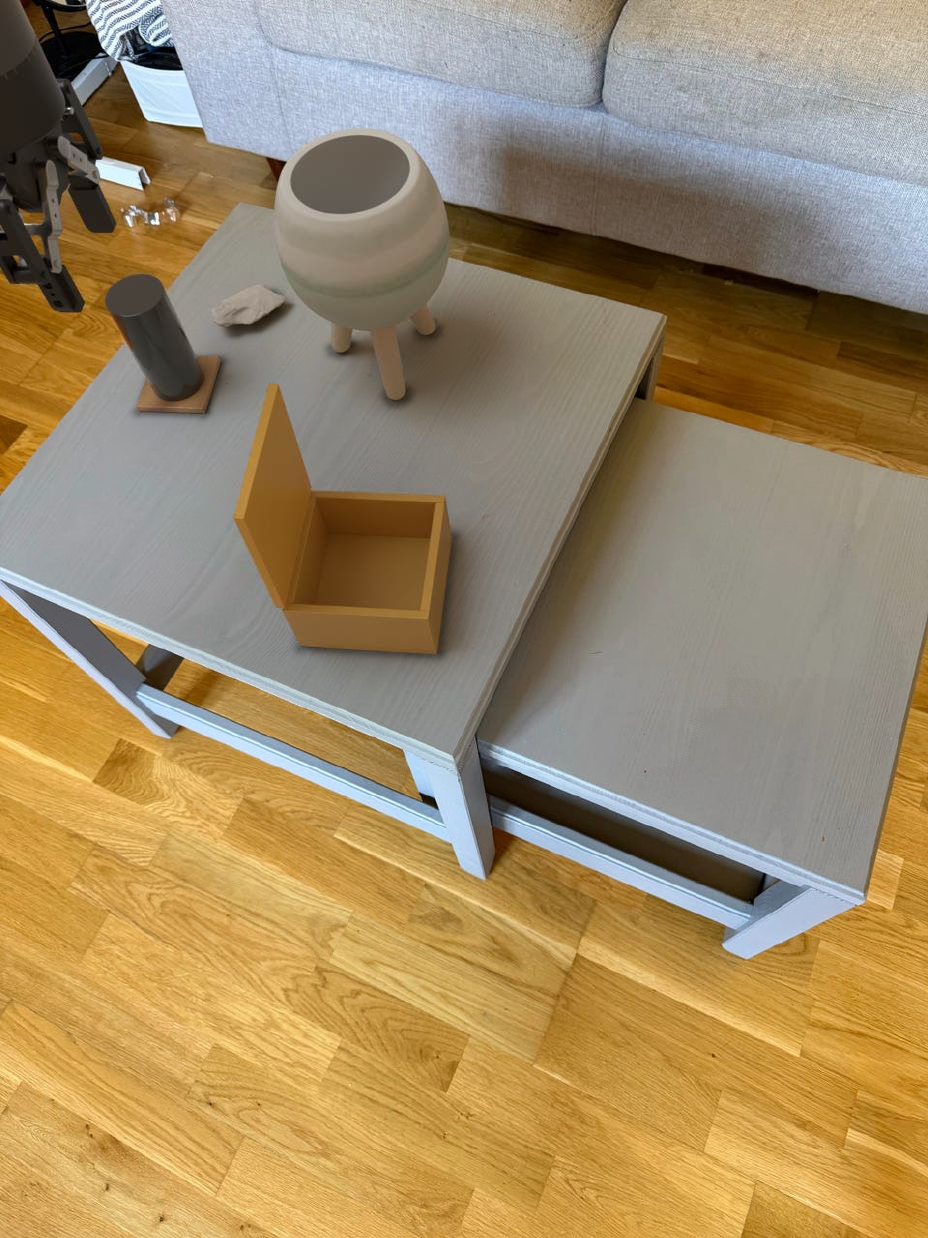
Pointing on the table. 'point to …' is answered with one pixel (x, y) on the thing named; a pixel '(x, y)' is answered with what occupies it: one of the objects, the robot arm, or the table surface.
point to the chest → (370, 572)
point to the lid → (274, 497)
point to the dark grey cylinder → (155, 336)
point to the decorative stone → (246, 306)
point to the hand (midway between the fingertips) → (88, 268)
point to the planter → (363, 238)
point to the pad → (188, 405)
